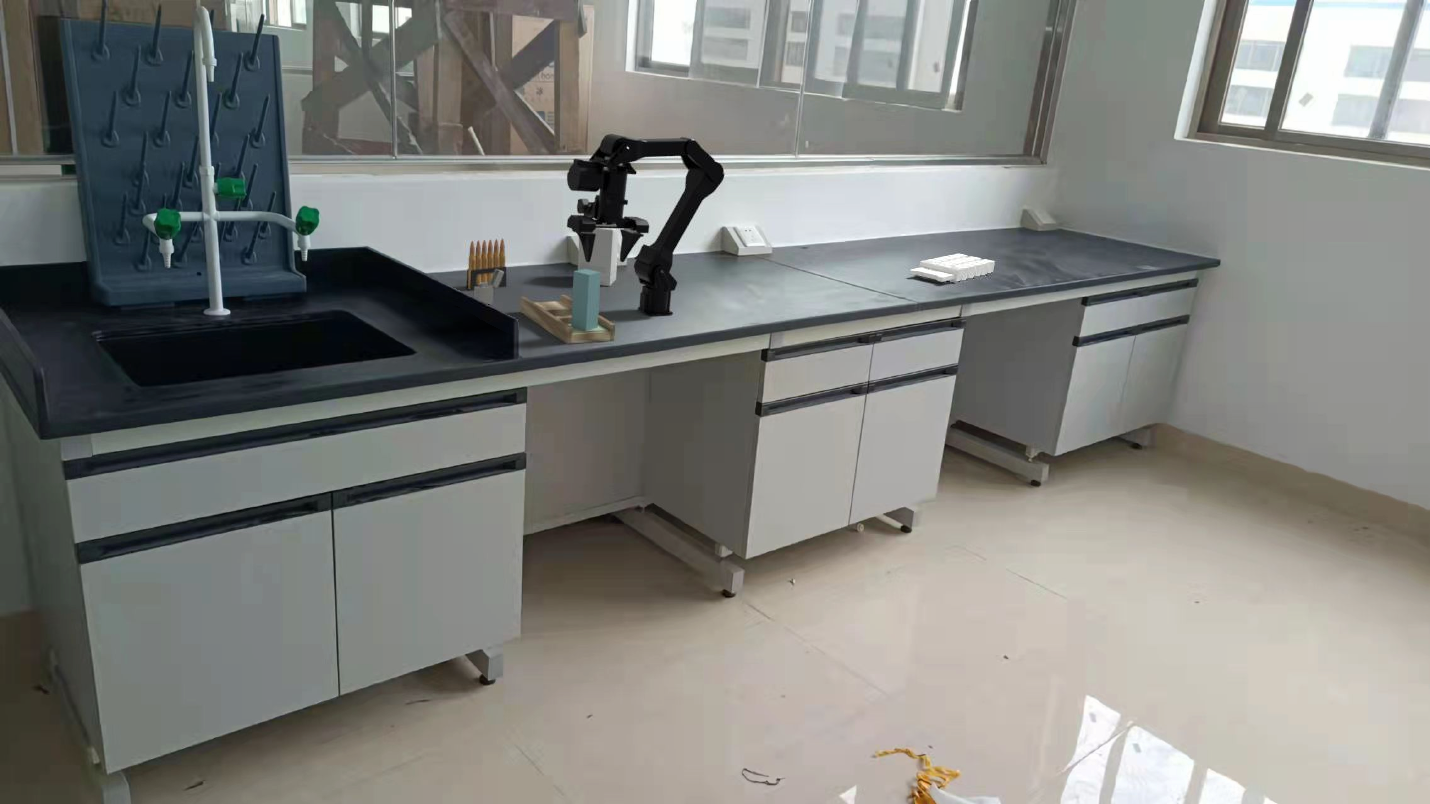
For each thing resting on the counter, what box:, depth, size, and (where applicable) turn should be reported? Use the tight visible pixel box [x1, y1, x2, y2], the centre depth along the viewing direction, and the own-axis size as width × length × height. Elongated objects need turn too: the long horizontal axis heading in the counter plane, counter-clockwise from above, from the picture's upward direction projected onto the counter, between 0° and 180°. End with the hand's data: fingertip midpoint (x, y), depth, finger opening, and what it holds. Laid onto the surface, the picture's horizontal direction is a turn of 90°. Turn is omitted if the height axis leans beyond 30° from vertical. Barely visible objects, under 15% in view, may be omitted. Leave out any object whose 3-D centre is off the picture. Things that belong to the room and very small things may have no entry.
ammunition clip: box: [466, 238, 508, 292], centre depth 245 cm, size 11×2×12 cm, turn 138°
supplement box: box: [577, 228, 620, 287], centre depth 262 cm, size 9×9×15 cm
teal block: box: [571, 269, 601, 331], centre depth 211 cm, size 4×4×12 cm
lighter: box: [473, 269, 504, 306], centre depth 231 cm, size 7×2×8 cm, turn 138°
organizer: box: [909, 253, 996, 282], centre depth 318 cm, size 13×5×35 cm
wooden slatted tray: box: [519, 294, 616, 345], centre depth 221 cm, size 11×26×4 cm, turn 32°
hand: (604, 261), depth 227 cm, fingers open, 9 cm apart
